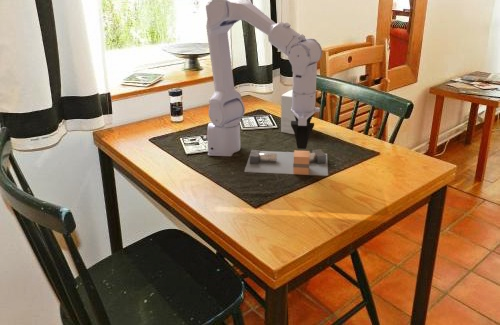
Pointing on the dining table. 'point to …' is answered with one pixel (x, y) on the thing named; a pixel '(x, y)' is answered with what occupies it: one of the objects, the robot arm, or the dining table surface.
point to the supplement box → (287, 113)
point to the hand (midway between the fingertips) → (302, 142)
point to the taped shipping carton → (301, 162)
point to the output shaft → (317, 156)
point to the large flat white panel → (285, 165)
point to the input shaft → (262, 157)
